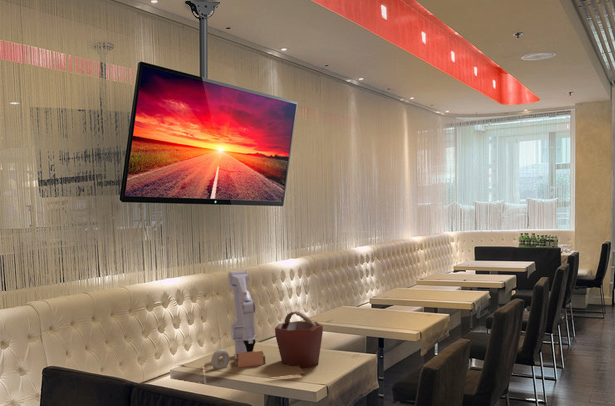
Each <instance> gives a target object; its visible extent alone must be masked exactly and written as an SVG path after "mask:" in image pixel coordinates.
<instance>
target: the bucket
mask: <svg viewBox="0 0 615 406" xmlns="http://www.w3.org/2000/svg"><path fill="white" fill-rule="evenodd" d="M293 315H297V316H299V317H300V318H301V319H303V320H296V321H291V319H292V317H293ZM323 327H324V326H323V324H321V322H320V323H319V322H318V321H314V320H312V319H311V318H310V317H309V316H307V315H306V314H304V313H303V312H300V311H291V312H289V313H288V314H287V315H285V318H284V322H282V323H279V324H278V325H277V326H275V328H274V334H275V338H276V343H277V348H278V352H279V355H280V360H281V363H282V364H283V365H287V366H291V367H299V369H301V370H302V369H303V370H304V369H310V368H312V367H315V366H317V365H319V361H320V354H321V347H322V340H323V333H324V330H323Z"/></svg>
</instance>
